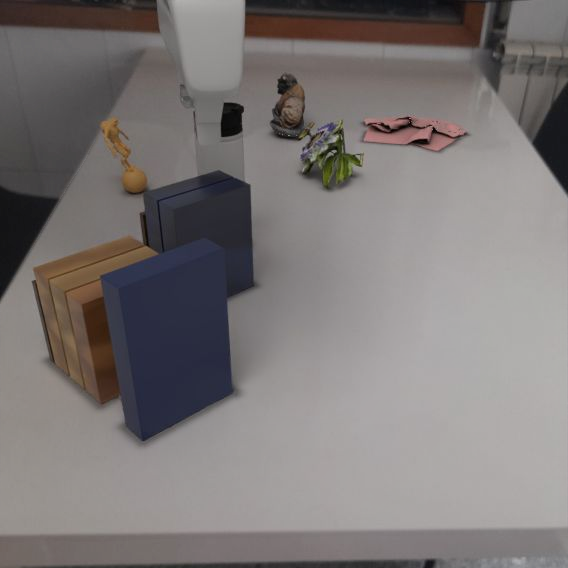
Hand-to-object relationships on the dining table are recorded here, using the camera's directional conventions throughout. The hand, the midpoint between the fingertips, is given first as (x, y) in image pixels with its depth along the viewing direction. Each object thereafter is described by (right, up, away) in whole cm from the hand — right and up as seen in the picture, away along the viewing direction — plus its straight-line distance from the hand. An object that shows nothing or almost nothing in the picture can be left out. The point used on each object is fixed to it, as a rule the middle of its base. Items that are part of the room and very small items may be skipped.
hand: (199, 123), depth 60 cm
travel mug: (-5, -4, +43) cm, 44 cm away
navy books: (-6, -11, +33) cm, 35 cm away
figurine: (-23, +7, +57) cm, 62 cm away
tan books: (-13, -20, +20) cm, 31 cm away
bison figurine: (0, +25, +84) cm, 88 cm away
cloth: (+25, +25, +87) cm, 94 cm away
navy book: (-5, -25, +13) cm, 29 cm away
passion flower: (+9, +12, +66) cm, 68 cm away
